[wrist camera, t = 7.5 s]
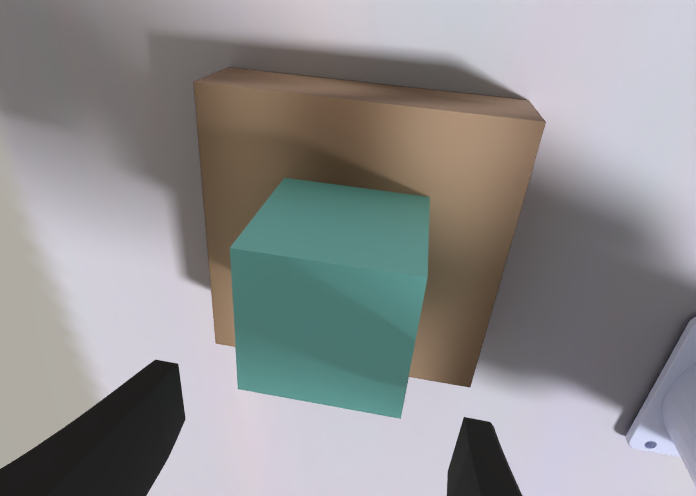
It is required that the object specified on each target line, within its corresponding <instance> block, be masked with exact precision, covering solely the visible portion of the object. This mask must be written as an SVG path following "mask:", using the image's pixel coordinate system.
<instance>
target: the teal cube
mask: <svg viewBox="0 0 696 496" xmlns="http://www.w3.org/2000/svg"><path fill="white" fill-rule="evenodd" d="M429 210H430V197H426V196H418V195H411V194H403V193H396V192H388V191H381V190H373V189H366V188H358V187H351V186H343V185H336V184H328V183H321V182H313V181H306V180H298V179H291V178H284V179H283V180H282V181H281V183H280V184H279V185H278V186H277V188H276V189H275V190H274V192H273V193H272V194H271V195H270V197H269V198H268V199H267V201H266V202H265V203H264V205H263V206H262V207H261V208H260V210H259V211H258V212H257V214H256V215H255V216H254V217H253V219H252V220H251V221H250V223H249V224H248V225H247V226H246V228H245V229H244V230H243V232H242V233H241V234H240V235H239V237H238V238H237V239H236V241H235V242H234V243H233V244H232V246H231V247H230V260H231V277H232V294H233V312H234V329H235V346H236V363H237V381H238V389H241V390H247V391H252V392H257V393H263V394H268V395H274V396H279V397H285V398H290V399H296V400H301V401H307V402H312V403H318V404H323V405H329V406H334V407H340V408H345V409H351V410H356V411H362V412H367V413H373V414H378V415H384V416H389V417H395V418H400V419H401V414H402V409H403V404H404V398H405V393H406V388H407V383H408V377H409V372H410V367H411V362H412V357H413V351H414V346H415V341H416V336H417V330H418V325H419V320H420V315H421V309H422V304H423V299H424V294H425V288H426V283H427V278H428V245H429Z"/></svg>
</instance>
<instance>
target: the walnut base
mask: <svg viewBox="0 0 696 496" xmlns="http://www.w3.org/2000/svg"><path fill="white" fill-rule="evenodd" d="M194 94H195V106H196V118H197V130H198V141H199V153H200V165H201V177H202V188H203V200H204V212H205V224H206V235H207V247H208V259H209V271H210V283H211V294H212V306H213V318H214V330H215V341H216V344H222V345H228V346H234V347H236V346H235V329H234V312H233V294H232V277H231V260H230V247H231V246H232V244H233V243H234V242H235V241H236V239H237V238H238V237H239V235H240V234H241V233H242V232H243V230H244V229H245V228H246V226H247V225H248V224H249V223H250V221H251V220H252V219H253V217H254V216H255V215H256V214H257V212H258V211H259V210H260V208H261V207H262V206H263V205H264V203H265V202H266V201H267V199H268V198H269V197H270V195H271V194H272V193H273V192H274V190H275V189H276V188H277V186H278V185H279V184H280V183H281V181H282V180H283V179H284V178H291V179H298V180H306V181H313V182H321V183H328V184H336V185H343V186H351V187H358V188H366V189H373V190H381V191H388V192H396V193H403V194H411V195H418V196H426V197H430V210H429V245H428V278H427V283H426V288H425V294H424V299H423V304H422V309H421V315H420V320H419V325H418V330H417V336H416V341H415V346H414V351H413V357H412V362H411V367H410V372H409V377H413V378H419V379H424V380H430V381H436V382H442V383H448V384H453V385H459V386H465V387H470V386H471V383H472V379H473V376H474V372H475V369H476V365H477V362H478V358H479V355H480V351H481V348H482V344H483V341H484V337H485V334H486V330H487V327H488V323H489V320H490V316H491V313H492V309H493V306H494V302H495V299H496V295H497V292H498V288H499V285H500V281H501V278H502V274H503V270H504V267H505V263H506V260H507V256H508V253H509V249H510V246H511V242H512V239H513V235H514V232H515V228H516V225H517V221H518V218H519V214H520V211H521V207H522V204H523V200H524V197H525V193H526V190H527V186H528V183H529V179H530V176H531V172H532V169H533V165H534V162H535V158H536V155H537V151H538V148H539V144H540V141H541V137H542V134H543V130H544V127H545V123H546V122H545V120H544V119H543V118H542V117H541V115H540V114H539V113H538V111H537V110H536V109H535V108H534V106H533V105H532V104H531V103H530V101H529V100H521V99H512V98H503V97H494V96H485V95H476V94H466V93H457V92H448V91H439V90H430V89H421V88H412V87H403V86H394V85H385V84H376V83H367V82H357V81H348V80H339V79H330V78H321V77H312V76H303V75H294V74H285V73H276V72H267V71H258V70H248V69H239V68H230V67H228V68H226V69H223V70H221V71H219V72H216V73H214V74H211V75H209V76H206V77H204V78H201V79H199V80H197V81H194Z"/></svg>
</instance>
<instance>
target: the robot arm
mask: <svg viewBox="0 0 696 496" xmlns="http://www.w3.org/2000/svg"><path fill="white" fill-rule="evenodd" d="M184 421H185V412H184V405H183V397H182V389H181V382H180V374H179V367H178V364H176V363H171V362H165V361H160V360H155V361H153V362H152V363H150V364H149V365H148V366H146V367H145V368H144V369H142V370H141V371H140V372H138V373H137V374H136V375H134V376H133V377H132V378H130V379H129V380H128V381H127V382H125V383H124V384H123V385H121V386H120V387H119V388H117V389H116V390H115V391H113V392H112V393H111V394H109V395H108V396H107V397H105V398H104V399H103V400H101V401H100V402H99V403H97V404H96V405H95V406H93V407H92V408H91V409H89V410H88V411H86V412H85V413H84V414H82V415H81V416H80V417H78V418H77V419H76V420H74V421H73V422H71V423H70V424H68V425H67V426H66V427H64V428H63V429H61V430H60V431H58V432H57V433H55V434H54V435H52V436H51V437H49V438H48V439H46V440H45V441H43V442H42V443H41V444H39V445H38V446H36V447H35V448H33V449H32V450H30V451H28V452H27V453H25V454H24V455H22V456H21V457H19V458H18V459H16V460H14V461H13V462H11V463H10V464H8V465H6V466H5V467H3V468H1V469H0V496H146V495H147V493H148V492H149V490H150V488H151V487H152V485H153V483H154V482H155V480H156V478H157V476H158V475H159V473H160V471H161V470H162V468H163V466H164V464H165V463H166V461H167V459H168V457H169V455H170V453H171V451H172V449H173V446H174V444H175V442H176V440H177V438H178V435H179V433H180V431H181V428H182V426H183V424H184ZM626 440H627V442H628V445H629V446H630V447H631V448H634V449H638V450H644V451H649V452H655V453H661V454H666V455H672V456H677V457H681V458H682V460H683V462H684V464H685V466H686V468H687V470H688V472H689V474H690V476H691V478H692V480H693V482H694V484H695V485H696V317H694V318H692V319H691V320H690V321H689V323H688V325H687V326H686V328H685V330H684V332H683V334H682V335H681V337H680V339H679V341H678V343H677V344H676V346H675V348H674V350H673V352H672V353H671V355H670V357H669V359H668V361H667V362H666V364H665V366H664V368H663V370H662V372H661V373H660V375H659V377H658V379H657V381H656V382H655V384H654V386H653V388H652V390H651V391H650V393H649V395H648V397H647V399H646V400H645V402H644V404H643V406H642V408H641V409H640V411H639V413H638V415H637V417H636V418H635V420H634V422H633V424H632V426H631V427H630V429H629V431H628V433H627V435H626ZM447 496H522V494H521V492H520V490H519V487H518V485H517V483H516V481H515V479H514V476H513V474H512V472H511V469H510V467H509V465H508V462H507V460H506V458H505V455H504V453H503V450H502V448H501V445H500V443H499V440H498V437H497V435H496V432H495V429H494V426H493V425H492V424H491V423H490V422H487V421H482V420H477V419H471V418H466V417H464V419H463V422H462V426H461V429H460V432H459V436H458V439H457V442H456V446H455V449H454V452H453V456H452V459H451V462H450V466H449V469H448V482H447Z"/></svg>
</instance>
